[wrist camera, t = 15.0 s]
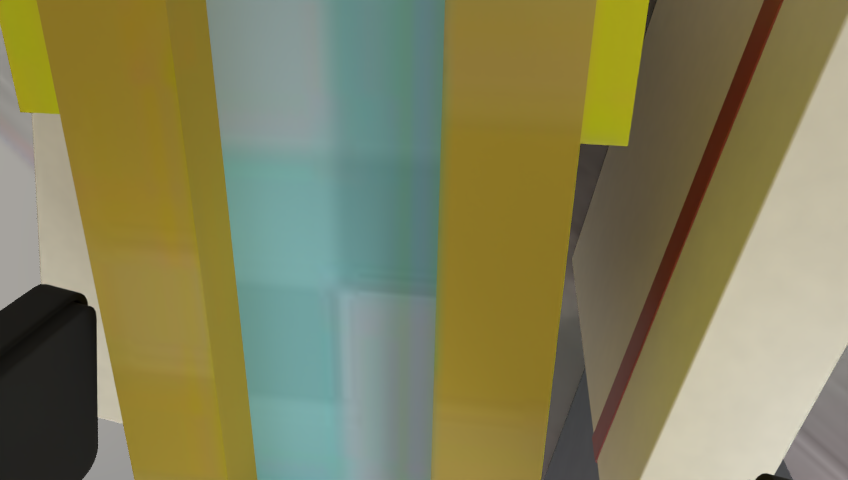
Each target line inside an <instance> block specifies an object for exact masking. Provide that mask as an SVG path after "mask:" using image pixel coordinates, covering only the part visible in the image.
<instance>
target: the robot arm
mask: <svg viewBox="0 0 848 480" xmlns="http://www.w3.org/2000/svg"><path fill="white" fill-rule="evenodd" d="M97 449H98V404H97V316H96V311H95V309H94V308H93V307H91V306H88V301H87V299H86V297H85V295H83V294H82V293H79V292H75V291H71V290H67V289H63V288H60V287H56V286H52V285H48V284H40V285H38V286H36V287H34V288H32V289H31V290H30V291H28V292H27V293H25V294H24V295H22V296H21V297H20V298H18V299H17V300H15V301H14V302H12V303H11V304H9V305H8V306H7V307H5V308H4V309H2V310H1V311H0V480H82V479H83V478H84V477H85V475H86V474H87V473H88V471H89V470H90V469H91V467H92V465H93V463H94V460H95V458H96V455H97ZM756 480H791V479H787V478H783V477H779V476H775V475H771V474H768V473H763V474H761V475H759V476H758V477H757V478H756Z"/></svg>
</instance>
